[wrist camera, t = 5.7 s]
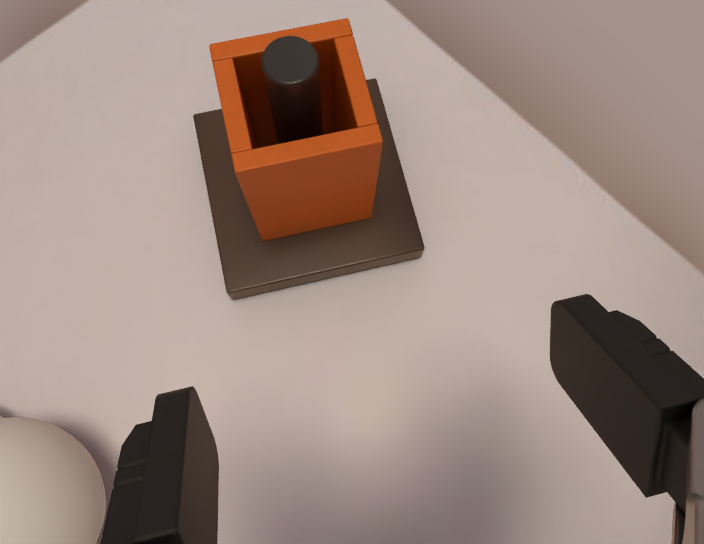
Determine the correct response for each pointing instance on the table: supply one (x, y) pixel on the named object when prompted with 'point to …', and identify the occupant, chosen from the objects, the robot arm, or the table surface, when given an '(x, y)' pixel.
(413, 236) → the stake
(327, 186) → the orange square tube
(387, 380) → the table surface
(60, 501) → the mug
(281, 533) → the table surface
